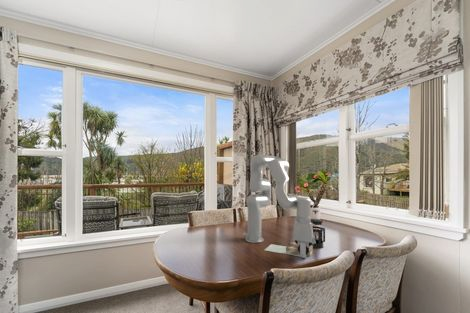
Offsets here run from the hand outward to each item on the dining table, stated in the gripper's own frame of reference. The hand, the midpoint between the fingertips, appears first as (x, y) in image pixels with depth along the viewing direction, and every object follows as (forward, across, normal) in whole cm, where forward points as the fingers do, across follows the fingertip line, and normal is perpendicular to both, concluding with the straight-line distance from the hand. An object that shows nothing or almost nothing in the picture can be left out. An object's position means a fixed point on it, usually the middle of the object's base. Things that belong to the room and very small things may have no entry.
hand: (303, 253), depth 132 cm
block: (+3, -4, +8) cm, 9 cm away
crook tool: (+2, 0, +4) cm, 5 cm away
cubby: (+3, -4, +8) cm, 9 cm away
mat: (+3, -10, +8) cm, 13 cm away
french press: (+3, +4, +25) cm, 25 cm away
